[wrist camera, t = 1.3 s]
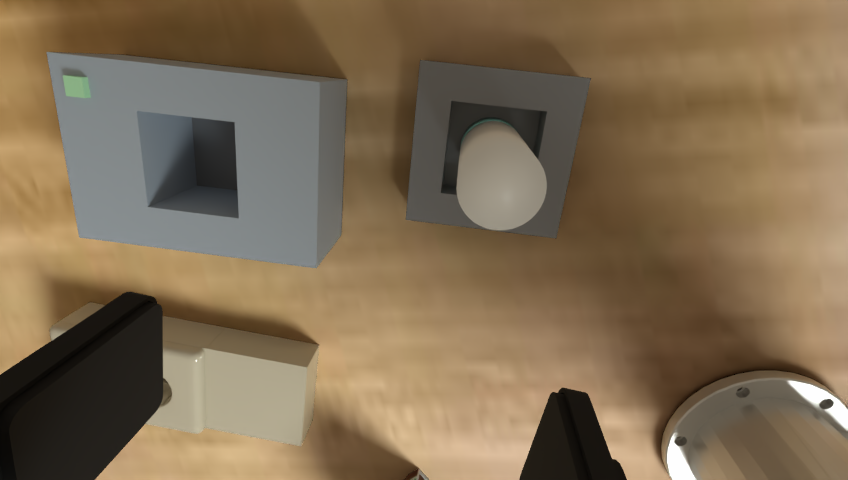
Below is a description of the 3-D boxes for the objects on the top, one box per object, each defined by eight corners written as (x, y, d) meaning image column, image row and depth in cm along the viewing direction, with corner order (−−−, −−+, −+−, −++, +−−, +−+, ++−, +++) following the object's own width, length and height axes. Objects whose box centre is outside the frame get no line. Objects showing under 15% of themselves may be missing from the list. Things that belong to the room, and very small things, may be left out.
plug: (525, 120, 27) (555, 148, 18) (514, 180, 29) (537, 235, 19) (464, 113, 28) (462, 138, 18) (456, 173, 29) (451, 224, 19)
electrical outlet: (297, 456, 34) (58, 410, 34) (314, 416, 38) (99, 376, 38) (302, 375, 31) (44, 327, 32) (320, 342, 35) (90, 299, 36)
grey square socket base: (580, 77, 27) (590, 78, 24) (549, 224, 30) (556, 238, 28) (424, 60, 27) (420, 60, 25) (410, 208, 30) (405, 219, 28)
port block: (347, 79, 28) (317, 82, 22) (341, 235, 31) (314, 271, 26) (122, 54, 28) (39, 51, 23) (141, 209, 32) (73, 239, 27)
